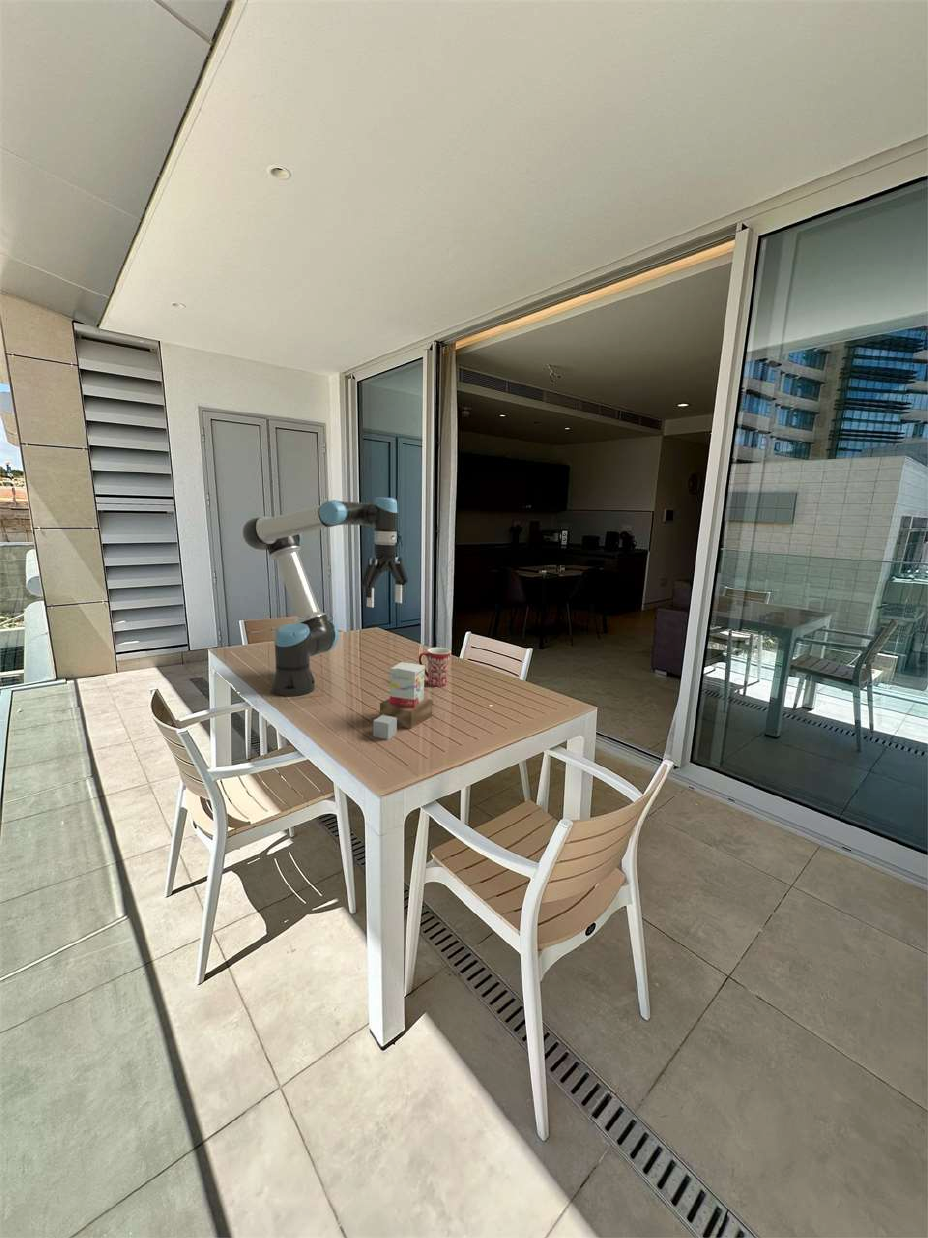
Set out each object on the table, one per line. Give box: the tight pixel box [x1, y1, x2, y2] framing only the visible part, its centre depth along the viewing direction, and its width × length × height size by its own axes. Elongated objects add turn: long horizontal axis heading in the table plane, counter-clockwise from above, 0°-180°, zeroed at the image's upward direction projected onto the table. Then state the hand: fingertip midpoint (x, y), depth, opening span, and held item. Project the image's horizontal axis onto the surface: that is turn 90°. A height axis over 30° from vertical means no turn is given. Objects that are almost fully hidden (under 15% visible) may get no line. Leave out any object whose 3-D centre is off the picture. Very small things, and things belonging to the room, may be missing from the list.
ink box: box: [389, 661, 426, 708], centre depth 158 cm, size 9×9×12 cm
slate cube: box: [372, 715, 398, 741], centre depth 147 cm, size 5×5×5 cm
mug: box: [418, 647, 451, 688], centre depth 194 cm, size 13×9×14 cm
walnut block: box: [379, 697, 434, 730], centre depth 160 cm, size 12×12×6 cm
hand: (384, 604), depth 176 cm, fingers open, 13 cm apart
